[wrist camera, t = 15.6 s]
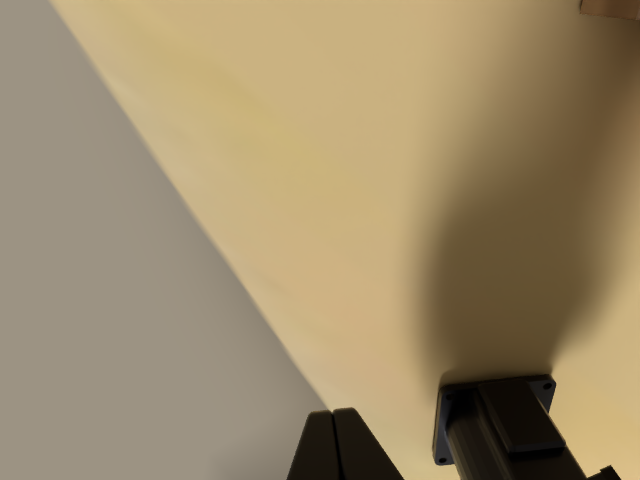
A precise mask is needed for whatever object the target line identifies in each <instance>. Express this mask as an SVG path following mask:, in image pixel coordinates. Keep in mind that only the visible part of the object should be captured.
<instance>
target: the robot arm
mask: <svg viewBox="0 0 640 480" xmlns="http://www.w3.org/2000/svg"><path fill="white" fill-rule="evenodd" d="M555 388H556V382H555V381H554V379H553V378H552V376H551V375H546V374H545V375H536V376H527V377H517V378H508V379H499V380H489V381H480V382H471V383H461V384H452V385H446V386H444V387H442V388H441V389H440V391H439V399H438V409H437V419H436V428H435V438H434V448H433V458H434V461H435V464H436V465H439V466H443V465H451V464H455V466H456V468H457V471H458V474H459V476H460V479H461V480H621V479H620V477H619V476H618V474H617V473H616V472H615V470H614V469H613V467H612V466H611V465H609V466H607V467H605V468H603V469H600V471H601V472H599V473H597V474H595V475H593V476H591V477H588V478H587V477H586V475H585V474H584V472H583V470H582V469H581V467H580V466H579V464H578V462H577V461H576V459H575V458H574V456H573V455H572V453H571V451H570V450H569V448H568V447H567V445H566V441H565V440H564V438H563V436H562V435H561V433H560V432H559V430H558V428H557V427H556V425H555V424H554V422H553V421H552V419H551V417H550V416H549V414H548V413H549V410H550V406H551V402H552V399H553V395H554V392H555ZM287 480H404V479H403V477H402V476H401V474H400V473H399V471H398V470H397V468H396V467H395V465H394V464H393V463H392V461H391V460H390V458H389V457H388V455H387V454H386V452H385V451H384V449H383V448H382V447H381V445H380V444H379V442H378V441H377V439H376V438H375V436H374V435H373V434H372V432H371V431H370V429H369V428H368V426H367V425H366V423H365V422H364V420H363V419H362V418H361V416H360V415H359V413H358V412H357V411H356V410H355V409H354V408H352V407H350V408H341V409H335V410H334V411H333V412H331V411H329V410H323V411H313V412H311V413H310V414H309V415H308V417H307V420H306V423H305V426H304V429H303V432H302V435H301V438H300V441H299V444H298V447H297V450H296V453H295V456H294V459H293V462H292V465H291V468H290V471H289V474H288V477H287Z"/></svg>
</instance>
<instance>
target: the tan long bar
mask: <svg viewBox="0 0 640 480" xmlns="http://www.w3.org/2000/svg"><path fill="white" fill-rule="evenodd" d="M580 14H588V15H597V16H606V17H615V18H625V19H634V20H640V0H583V2H582V6H581V10H580Z"/></svg>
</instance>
